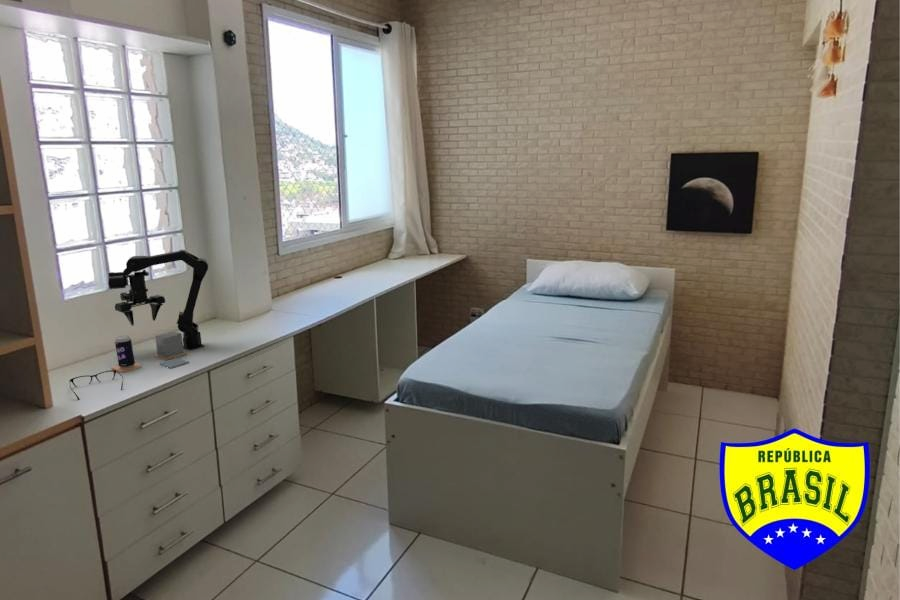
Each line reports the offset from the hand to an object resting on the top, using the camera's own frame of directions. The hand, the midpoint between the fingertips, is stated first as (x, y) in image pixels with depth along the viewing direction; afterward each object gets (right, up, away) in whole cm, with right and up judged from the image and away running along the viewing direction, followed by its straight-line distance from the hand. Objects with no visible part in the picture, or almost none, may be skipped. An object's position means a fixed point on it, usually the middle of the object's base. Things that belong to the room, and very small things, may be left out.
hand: (143, 323), depth 255 cm
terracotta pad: (+1, -17, -15) cm, 23 cm away
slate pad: (+19, -16, -12) cm, 27 cm away
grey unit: (+13, -14, -2) cm, 19 cm away
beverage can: (+1, -17, -15) cm, 23 cm away
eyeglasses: (+2, -23, -36) cm, 43 cm away
